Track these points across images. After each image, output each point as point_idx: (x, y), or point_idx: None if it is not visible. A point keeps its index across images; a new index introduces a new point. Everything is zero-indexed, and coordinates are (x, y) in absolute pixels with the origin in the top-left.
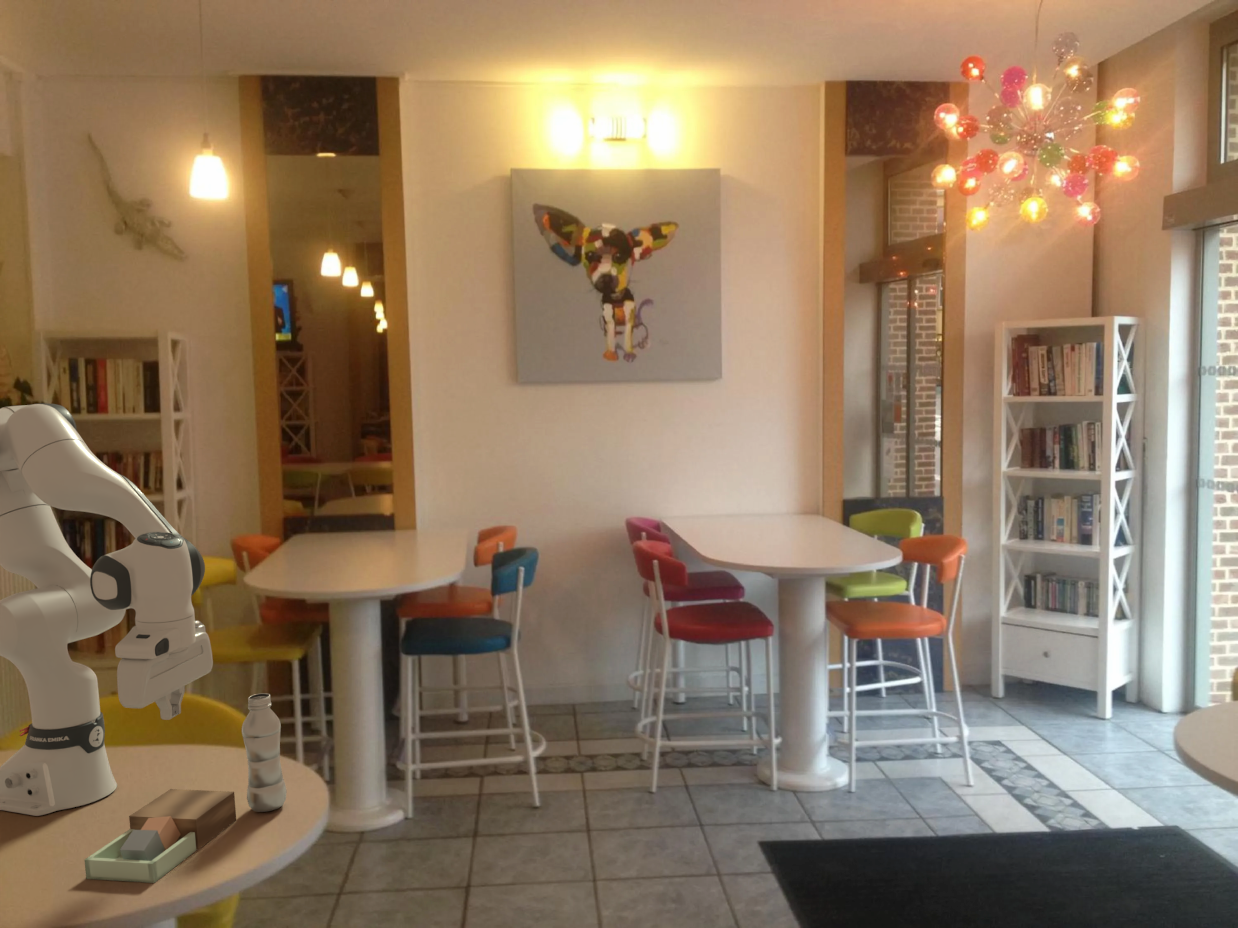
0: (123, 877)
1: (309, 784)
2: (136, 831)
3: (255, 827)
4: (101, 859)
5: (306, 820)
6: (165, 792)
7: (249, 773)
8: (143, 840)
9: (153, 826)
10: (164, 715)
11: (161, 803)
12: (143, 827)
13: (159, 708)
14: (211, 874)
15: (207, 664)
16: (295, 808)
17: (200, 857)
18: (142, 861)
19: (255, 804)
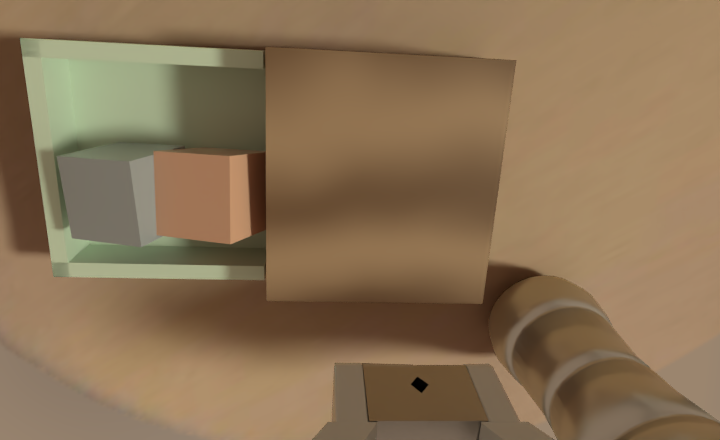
0: None
1: (683, 341)
2: (125, 176)
3: (413, 336)
4: (37, 99)
5: None
6: (482, 59)
7: (547, 349)
8: (102, 218)
9: (191, 197)
10: (333, 410)
11: (383, 105)
12: (191, 158)
13: (322, 428)
14: (151, 364)
15: None
16: None
17: (232, 291)
18: (58, 239)
19: (491, 322)
